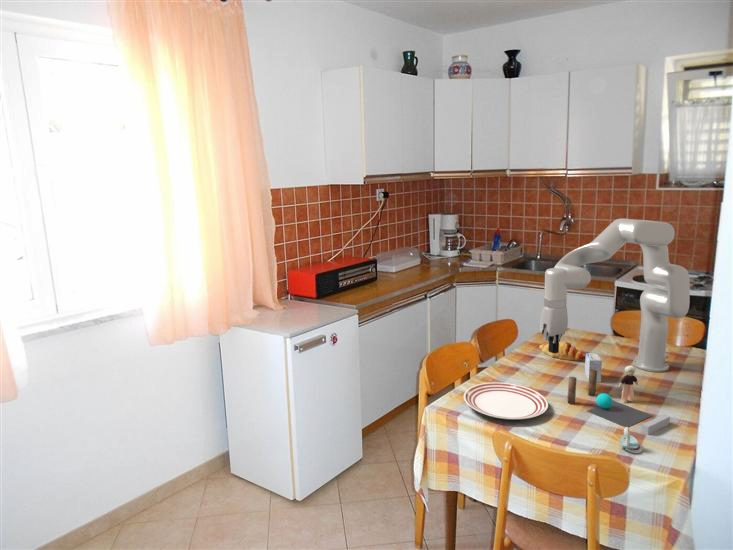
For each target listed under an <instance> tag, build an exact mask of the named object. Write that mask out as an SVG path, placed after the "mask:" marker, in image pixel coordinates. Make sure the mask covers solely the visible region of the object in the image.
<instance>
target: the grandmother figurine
mask: <svg viewBox="0 0 733 550" xmlns="http://www.w3.org/2000/svg"><path fill="white" fill-rule="evenodd" d="M635 372H636V367H635V366H634V365H627V366H625V367H624V373H626V374H625V375H624V376H623V377H622V379H621V380H620V381H619V384H618V386H617V387H618V388H619V389H621V388H622V389H621V390H622V391H621V397H620V398H621V399H619V401H620V402H621V404H628V403H633V402H634V395H635V394H634V385H639V381H638V378H637V377H636V376H635ZM622 386H623V387H622Z"/></svg>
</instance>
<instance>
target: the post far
mask: <svg viewBox="0 0 733 550" xmlns="http://www.w3.org/2000/svg"><path fill="white" fill-rule="evenodd" d="M567 386H568V388H567V402H568V403H569V405H575V404H576V394H577V393H576V392H577V391H576V390H577V377H575V376H569V377H568V385H567ZM568 403H567V404H568Z"/></svg>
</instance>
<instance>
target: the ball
mask: <svg viewBox="0 0 733 550" xmlns="http://www.w3.org/2000/svg"><path fill="white" fill-rule="evenodd" d="M612 400H613V398H612V397H611V396H610V395H609V394H608V393H605V392H604V393H599V394H598V395H597V397H596V400H595V402H596V405H597V406H599V407H600V408H602V409H608V408H610V407H611V406H612V403H613V401H614V400H613V401H612Z"/></svg>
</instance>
